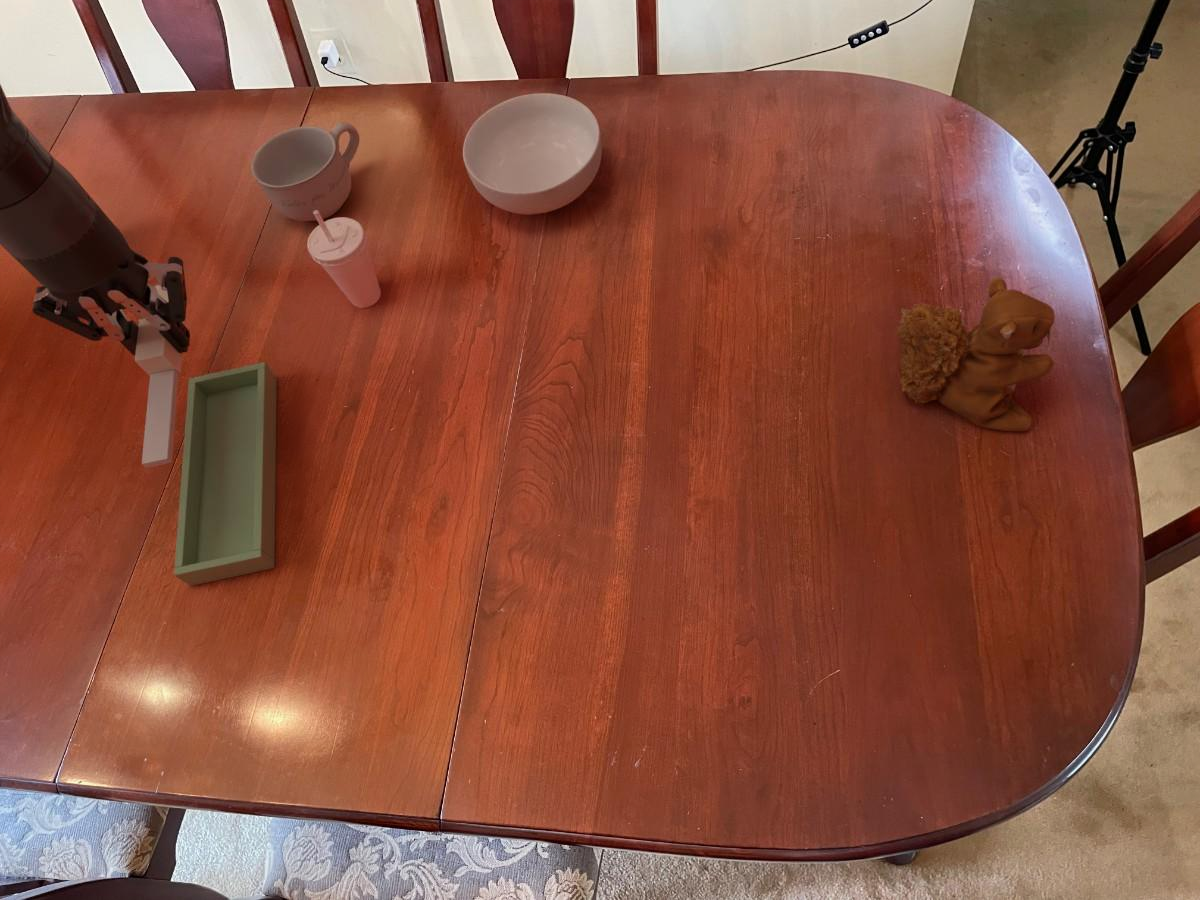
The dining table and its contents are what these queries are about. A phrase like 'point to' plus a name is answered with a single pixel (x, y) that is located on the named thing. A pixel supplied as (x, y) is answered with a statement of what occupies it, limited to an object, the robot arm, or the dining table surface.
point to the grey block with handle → (158, 390)
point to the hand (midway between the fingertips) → (166, 349)
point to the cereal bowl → (533, 152)
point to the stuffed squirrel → (976, 356)
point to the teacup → (306, 170)
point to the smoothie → (345, 258)
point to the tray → (228, 476)
